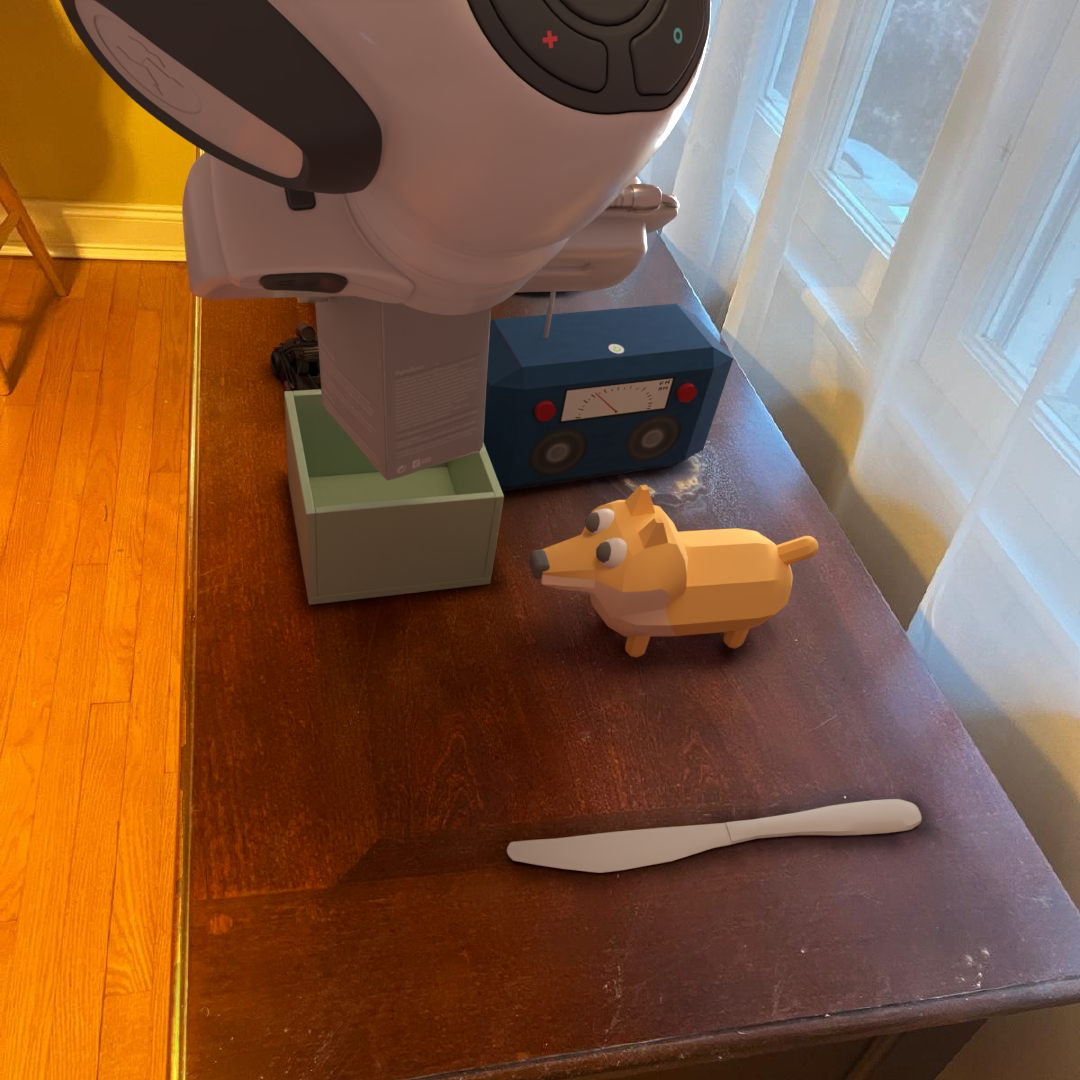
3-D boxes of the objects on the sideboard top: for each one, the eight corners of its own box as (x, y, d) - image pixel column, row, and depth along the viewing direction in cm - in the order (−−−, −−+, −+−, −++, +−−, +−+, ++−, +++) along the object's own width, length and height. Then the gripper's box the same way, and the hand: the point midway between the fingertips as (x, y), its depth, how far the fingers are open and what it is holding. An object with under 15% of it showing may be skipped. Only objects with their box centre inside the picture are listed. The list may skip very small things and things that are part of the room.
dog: (505, 602, 72) (528, 467, 63) (754, 583, 77) (809, 456, 68) (528, 688, 67) (557, 554, 58) (794, 662, 72) (859, 535, 63)
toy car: (335, 350, 91) (335, 309, 88) (369, 430, 84) (370, 388, 81) (267, 357, 89) (265, 315, 86) (296, 439, 82) (294, 396, 79)
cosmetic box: (484, 456, 56) (521, 190, 46) (371, 490, 53) (383, 211, 42) (412, 376, 61) (430, 117, 50) (303, 403, 57) (298, 131, 47)
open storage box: (308, 605, 69) (306, 514, 63) (288, 481, 78) (284, 390, 72) (490, 584, 73) (504, 496, 67) (451, 468, 82) (460, 381, 76)
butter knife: (933, 837, 62) (914, 794, 64) (511, 880, 56) (504, 831, 58) (929, 842, 62) (910, 798, 64) (509, 884, 57) (503, 835, 59)
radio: (481, 507, 79) (512, 285, 65) (448, 439, 84) (470, 221, 71) (706, 471, 86) (777, 265, 73) (662, 411, 92) (720, 209, 78)
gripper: (689, 117, 41) (578, 223, 54) (165, 100, 35) (184, 224, 48) (703, 269, 41) (589, 338, 54) (183, 278, 35) (197, 353, 48)
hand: (395, 285), depth 51 cm, fingers closed on cosmetic box, 7 cm apart
